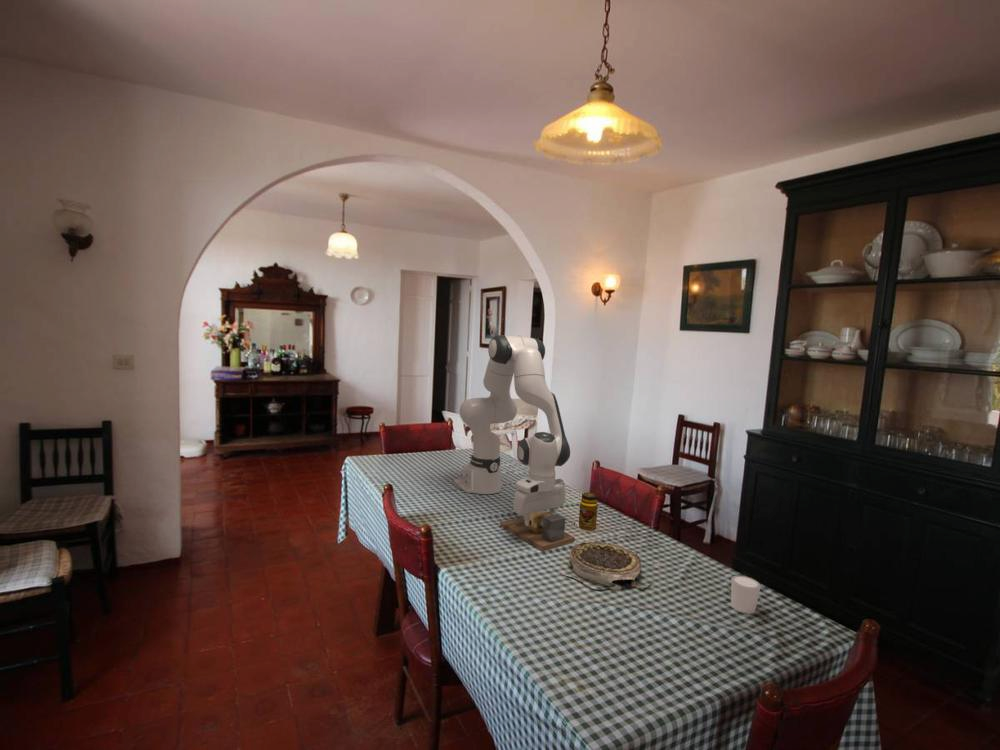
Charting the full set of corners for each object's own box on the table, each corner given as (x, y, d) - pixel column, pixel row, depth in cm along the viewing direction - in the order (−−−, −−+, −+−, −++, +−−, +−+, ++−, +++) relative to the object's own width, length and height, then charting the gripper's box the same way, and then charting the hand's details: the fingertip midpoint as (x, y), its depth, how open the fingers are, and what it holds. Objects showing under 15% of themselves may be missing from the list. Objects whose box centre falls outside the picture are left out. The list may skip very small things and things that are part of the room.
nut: (528, 528, 168) (529, 512, 167) (541, 525, 171) (542, 509, 171) (536, 533, 165) (537, 516, 164) (549, 529, 168) (550, 513, 168)
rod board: (500, 526, 174) (501, 502, 173) (530, 518, 182) (532, 496, 181) (542, 551, 156) (544, 524, 155) (574, 541, 165) (576, 516, 164)
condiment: (582, 532, 173) (585, 498, 172) (571, 522, 181) (574, 490, 180) (601, 530, 175) (604, 497, 174) (590, 521, 183) (592, 489, 182)
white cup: (732, 597, 135) (735, 572, 134) (760, 607, 131) (763, 581, 130) (725, 607, 130) (728, 581, 129) (754, 618, 125) (757, 591, 125)
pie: (538, 562, 150) (539, 546, 149) (597, 542, 167) (598, 528, 167) (614, 606, 128) (616, 587, 128) (673, 578, 146) (675, 561, 145)
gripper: (557, 475, 175) (555, 513, 177) (511, 483, 163) (509, 524, 164) (570, 480, 170) (567, 519, 172) (524, 489, 158) (521, 531, 159)
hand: (538, 522), depth 168 cm, fingers open, 8 cm apart
